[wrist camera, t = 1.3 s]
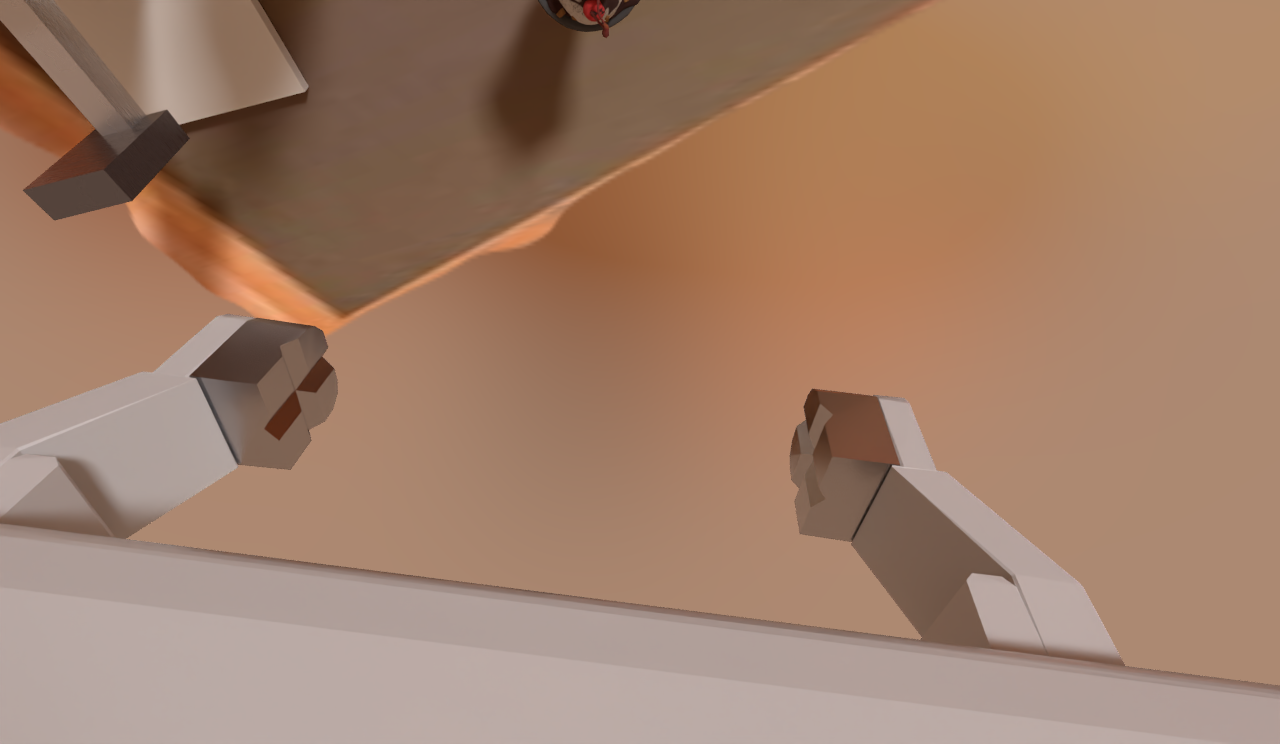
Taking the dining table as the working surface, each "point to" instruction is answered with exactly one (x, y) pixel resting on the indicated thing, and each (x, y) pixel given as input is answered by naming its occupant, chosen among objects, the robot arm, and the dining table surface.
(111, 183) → the shaft
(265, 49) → the base board
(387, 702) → the robot arm
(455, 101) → the dining table surface
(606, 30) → the sundae
